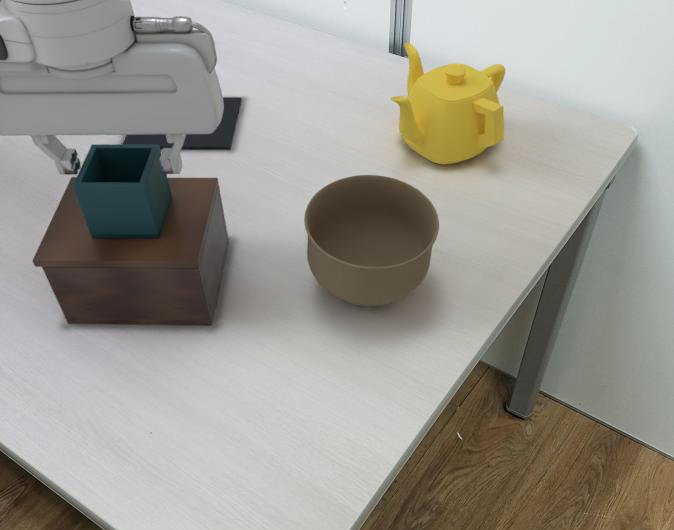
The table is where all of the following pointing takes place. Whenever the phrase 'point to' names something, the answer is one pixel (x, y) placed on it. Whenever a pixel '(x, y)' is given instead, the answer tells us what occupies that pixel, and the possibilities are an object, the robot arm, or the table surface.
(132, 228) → the tub
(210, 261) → the chest
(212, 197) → the chest lid
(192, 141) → the mat
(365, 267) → the bowl
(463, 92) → the teapot
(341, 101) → the table surface
